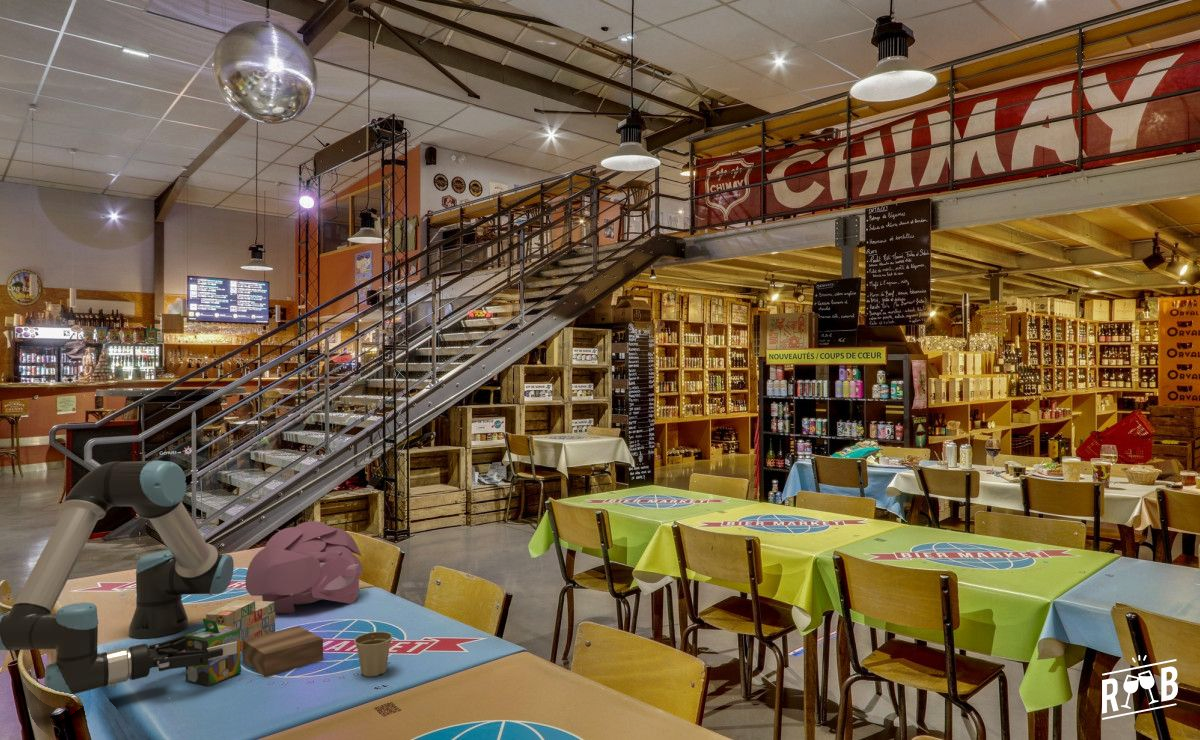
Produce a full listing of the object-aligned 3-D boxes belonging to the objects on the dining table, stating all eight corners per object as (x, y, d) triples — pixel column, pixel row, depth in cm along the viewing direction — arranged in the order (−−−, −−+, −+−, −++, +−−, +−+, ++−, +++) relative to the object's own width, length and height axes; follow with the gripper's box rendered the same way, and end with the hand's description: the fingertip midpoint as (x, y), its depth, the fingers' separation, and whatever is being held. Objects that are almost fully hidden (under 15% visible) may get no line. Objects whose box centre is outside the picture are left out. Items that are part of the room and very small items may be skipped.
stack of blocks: (256, 631, 212) (256, 590, 212) (275, 632, 211) (275, 591, 211) (205, 659, 191) (205, 613, 191) (226, 660, 190) (226, 614, 190)
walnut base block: (242, 662, 189) (242, 640, 189) (298, 647, 199) (298, 625, 200) (265, 678, 178) (265, 654, 178) (323, 661, 189) (323, 638, 189)
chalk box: (241, 673, 181) (241, 614, 181) (208, 687, 172) (208, 625, 173) (217, 667, 185) (217, 610, 185) (183, 680, 176) (183, 620, 177)
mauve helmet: (341, 602, 257) (339, 521, 263) (382, 600, 243) (379, 514, 249) (242, 618, 229) (243, 527, 235) (282, 616, 215) (281, 520, 221)
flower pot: (357, 682, 174) (357, 647, 174) (351, 669, 183) (351, 635, 183) (396, 675, 179) (396, 640, 179) (388, 662, 187) (388, 629, 187)
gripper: (120, 665, 176) (217, 643, 190) (137, 696, 158) (243, 669, 172) (120, 635, 176) (217, 615, 190) (137, 662, 158) (243, 638, 173)
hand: (229, 640), depth 181 cm, fingers closed on chalk box, 11 cm apart
